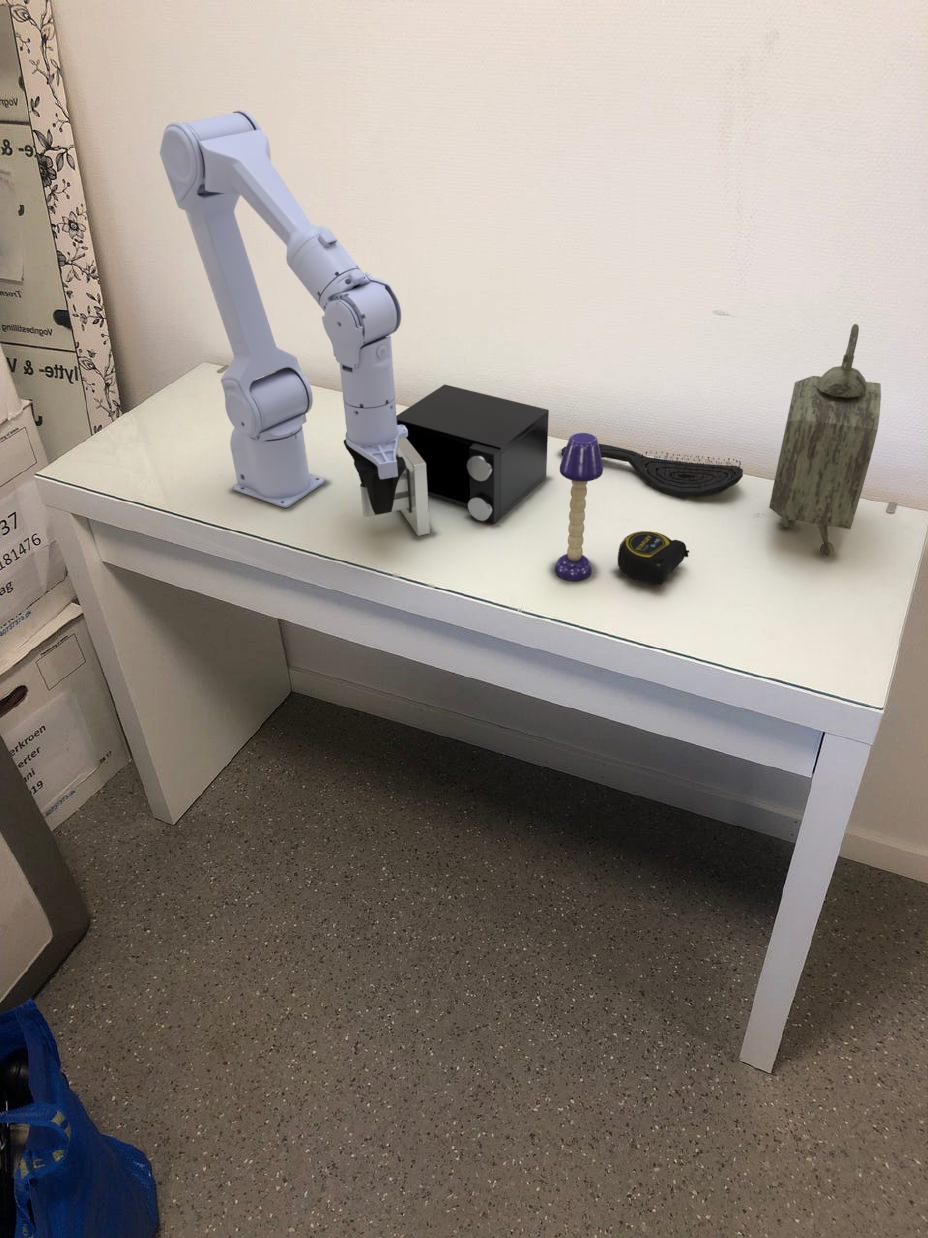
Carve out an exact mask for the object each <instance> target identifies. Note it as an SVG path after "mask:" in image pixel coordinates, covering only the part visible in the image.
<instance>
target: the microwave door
mask: <svg viewBox="0 0 928 1238" xmlns="http://www.w3.org/2000/svg"><path fill="white" fill-rule="evenodd" d="M397 457H403V459H404V460H405V463H406V466H405V470H404V472H403V473H402V475H401V477H400V479H399V481H398V484H397V487H396V492H395V497H394V503H393V508H392V511H391V512H388V513H392V512H397V511H400V512H401V514H402V515H403V516H404V518H405V519H406V521H407V522H408V524H409V525H410V527H411V528H412V530H413V531H414V533H415V534H416V535H417V536H418V537H420V536H421V537H422V536H426V535H429V534H431V529H430V528H431V527H430V510H429V509H430V508H429V496H428V489H427V471H426V463H425V461H424V460H423V459H422V458H421V456H420V455H419V454H418V452H417V451H416V450H415V449H414V447H413V446H412V445H411V443H410V442H409V441H408V440H407V438H406V437H405V438H401V439H400V440H399V444H398V449H397V454H396V458H397ZM359 488H360V489H359V491H360V500H361V507H362V508H361V509H362V516H364V517H367V518H372V517H375V516H380V515H381V514H378V515H375V513H374V511H373V509H372V507H371V504H370V500H369V496H368V492H367V489H366V486H365V483H364V482H362V483H361V482H360V484H359ZM388 513H387V514H388ZM382 515H385V513H383V514H382Z"/></svg>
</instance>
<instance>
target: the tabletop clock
mask: <svg viewBox="0 0 928 1238" xmlns="http://www.w3.org/2000/svg"><path fill="white" fill-rule="evenodd" d="M859 328H860V327H859V325H858V323H854V324H853V325H852V326H851V329H850V335H849V338H848V343H847V348H846V350H845V354H844V355H843V358H842V362H841V365H839V366H833V367H831V368H829V369H828V370H827V371H825V372H824V374H822V376H820V375H811V376H808V377H806V378H803V379H800V380H797V381H795V382H794V384H793V388H792V394H791V399H790V404H789V408H788V414H787V419H786V424H785V429H784V432H783V438H782V442H781V447H780V453H779V455H778V461H777V467H776V471H775V476H774V482H773V487H772V491H771V496H770V500H769V505H768V508H769V509H770V510H771V511H773V512H774V513H775V514H777V515H778V516H779V517H780V518H781V524H782V525H783V526H784V527H785V528H792V527H794V526H795V524H796V522H801V523H809V524H815V525H816V526H817V528H818V530H819V534H820V536H821V537H820V538H821V541H822V544H821V545H820V546H819V552H820V554H821V555H822V556H823V557H830V556H832V555H833V554H834V553H835V546H834V544H832V543H831V542H829V536H828V528H827V527H833V528H838V529H839V528H840V529H846V530H851V528H852V525H853V522H854V519H855V515H856V512H857V509H858V505H859V502H860V499H861V495H862V492H863V489H864V485H865V480H866V476H867V473H868V470H869V466H870V462H871V459H872V454H873V450H874V447H875V442H876V439H877V434H878V429H879V422H880V415H881V401H882V387H881V382H872V381H866V379H865V377H864V376H863V374H862V373H861V372H860V370H859V369H857V368H855V367H853V363H854V359H855V351H856V347H857V342H858V338H859V331H860V329H859Z"/></svg>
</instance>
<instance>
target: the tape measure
mask: <svg viewBox="0 0 928 1238" xmlns="http://www.w3.org/2000/svg"><path fill="white" fill-rule="evenodd" d="M689 553H690V549H689V550H688V549H687V546H686V543H685V542H684V541H682V540H678V539H671V538H670V537H669V536H666V535H665V534H662V533H659V532H656V531H651V530H649V531H648V530H644V531H643V530H642V531H641V530H639V531H636V532H633V533H630V534H628V535H627V536H625V537H624V538H623V540H622V541H621V542H620V544H619V547H618V553H617V566H618V568H619V571H620V572H621V573H622V574H623V575H624V576H626V577H627V578H628V579H630V580H632V581H635V582H641V583H646V584H648V585H651V586H662V585H663V584H664V583H665V582H666V581H667V579H668V578H669V575H670V574H672V572H674V571H675V570H676V569H677V568H678V567H679V565H680V564H681V563H682V562H683V561H684V559H685V558H688V557H689Z"/></svg>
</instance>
